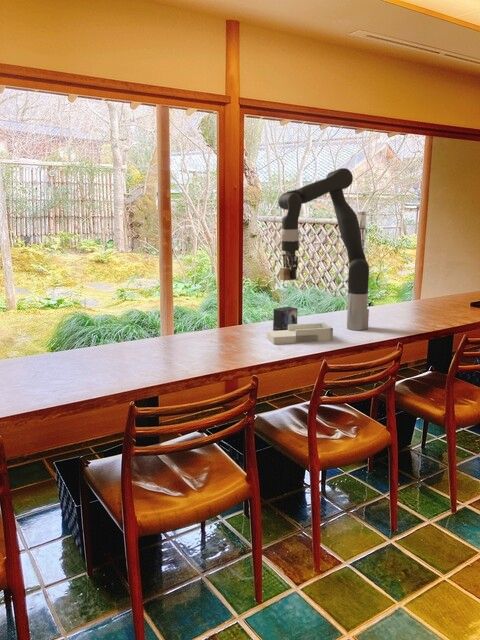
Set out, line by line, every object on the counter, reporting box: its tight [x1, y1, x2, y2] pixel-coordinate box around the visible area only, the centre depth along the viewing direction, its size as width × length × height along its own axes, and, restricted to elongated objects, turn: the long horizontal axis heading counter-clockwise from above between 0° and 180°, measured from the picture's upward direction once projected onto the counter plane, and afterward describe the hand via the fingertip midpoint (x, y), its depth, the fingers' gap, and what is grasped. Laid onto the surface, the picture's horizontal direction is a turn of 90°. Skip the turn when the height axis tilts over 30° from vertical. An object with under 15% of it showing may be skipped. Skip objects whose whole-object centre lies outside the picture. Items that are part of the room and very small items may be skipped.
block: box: [279, 267, 298, 281], centre depth 237 cm, size 6×5×5 cm
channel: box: [265, 322, 334, 345], centre depth 238 cm, size 27×11×6 cm, turn 103°
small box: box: [272, 305, 298, 331], centre depth 255 cm, size 11×6×10 cm, turn 129°
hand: (290, 278), depth 238 cm, fingers closed on block, 5 cm apart
